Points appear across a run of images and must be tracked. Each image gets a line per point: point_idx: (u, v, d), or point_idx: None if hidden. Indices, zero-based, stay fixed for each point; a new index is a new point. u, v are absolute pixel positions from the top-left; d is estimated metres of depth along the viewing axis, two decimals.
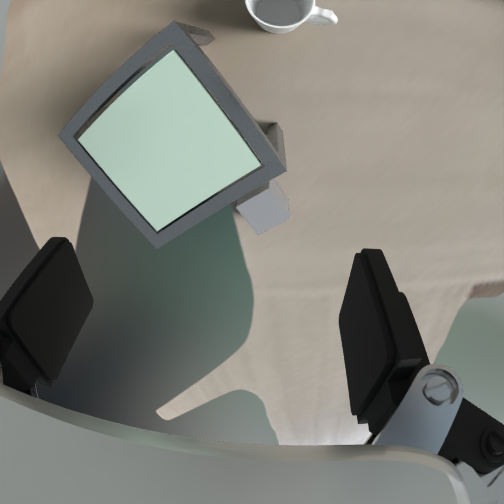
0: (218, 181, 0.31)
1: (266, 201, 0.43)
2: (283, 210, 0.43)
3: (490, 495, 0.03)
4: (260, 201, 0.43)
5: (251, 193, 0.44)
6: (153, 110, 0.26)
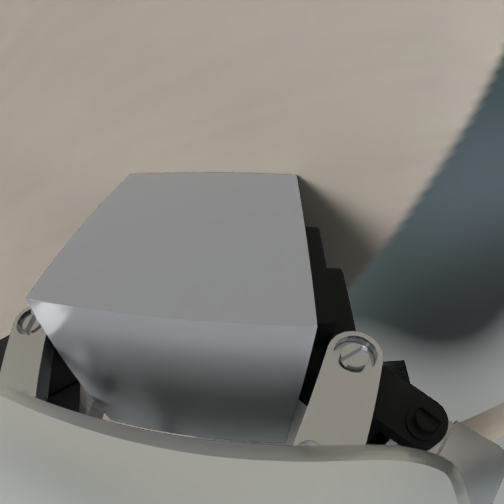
0: None
1: (136, 408, 0.07)
2: (60, 347, 0.06)
3: None
4: (166, 419, 0.07)
5: None
6: None
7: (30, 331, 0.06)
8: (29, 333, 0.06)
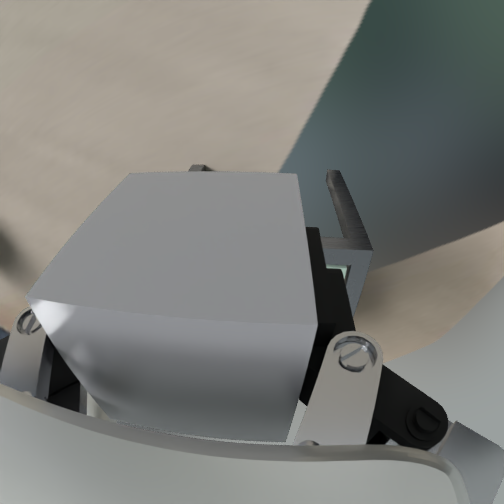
0: None
1: (136, 408, 0.07)
2: (60, 346, 0.06)
3: None
4: (166, 419, 0.07)
5: None
6: None
7: (30, 331, 0.06)
8: (29, 333, 0.06)
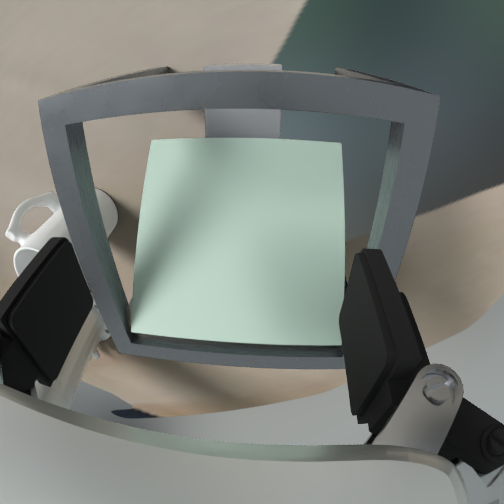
0: (207, 148, 0.21)
1: None
2: (215, 64, 0.22)
3: (490, 495, 0.03)
4: None
5: None
6: (206, 286, 0.20)
7: None
8: None
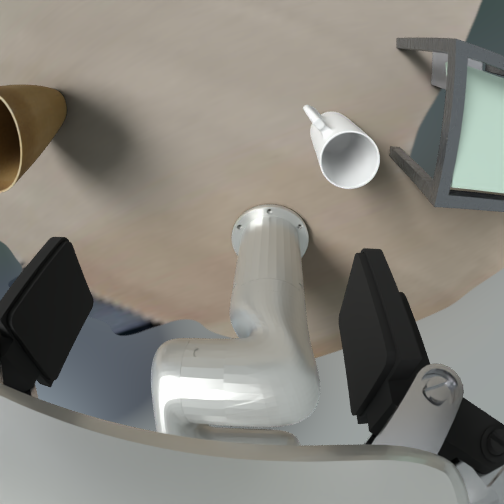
0: (480, 77, 0.23)
1: None
2: None
3: (490, 495, 0.03)
4: None
5: None
6: (487, 160, 0.26)
7: None
8: None
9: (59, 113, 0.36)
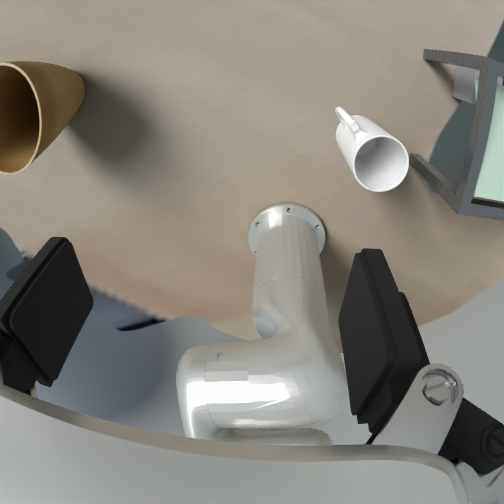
0: None
1: None
2: None
3: (490, 495, 0.03)
4: None
5: None
6: None
7: None
8: None
9: (78, 95, 0.35)
